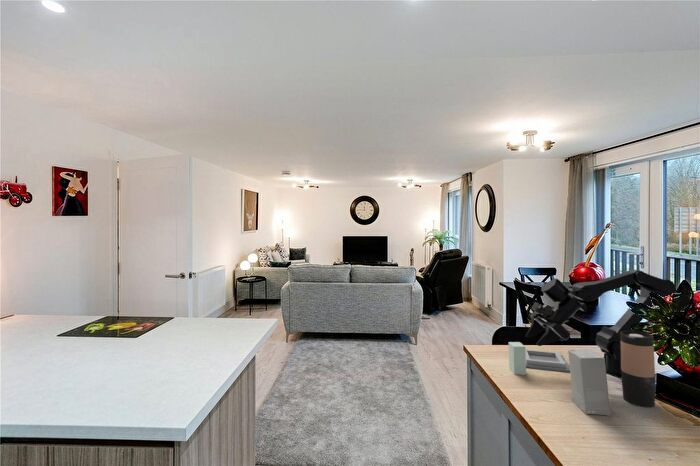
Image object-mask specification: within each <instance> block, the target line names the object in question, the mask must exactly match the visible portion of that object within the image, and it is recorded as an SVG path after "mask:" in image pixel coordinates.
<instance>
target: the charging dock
mask: <svg viewBox="0 0 700 466" xmlns="http://www.w3.org/2000/svg"><path fill="white" fill-rule="evenodd" d="M525 355H526V369H528V368H529V369H538V370H547V371H555V372H563V373H564V372H565V373H570V365H569V363H568V362H567V360H566V358H565V356H563V354H560V353H559V351H549V350H539V349H537V350H536V349H527V348H525Z"/></svg>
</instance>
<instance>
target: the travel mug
mask: <svg viewBox="0 0 700 466" xmlns="http://www.w3.org/2000/svg"><path fill="white" fill-rule="evenodd" d="M620 334H621V374H622V377H621V387H622V396H623V400H624V401H626V402H627V403H629V404H632V405H634V406H638V407H643V408H652V407H654V406H655V403H656V401H655V400H656V367H655V364H656V363H655V342H654V335H652V334H650V333H647V332H644V331H643V332H642V331H637V330H633V331H621V333H620Z"/></svg>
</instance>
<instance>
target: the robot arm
mask: <svg viewBox="0 0 700 466" xmlns="http://www.w3.org/2000/svg"><path fill="white" fill-rule="evenodd" d="M633 284H636V285H638V286H640V288H639V289H640V290H639V296H638V297H637V299H636V300H635V301H634V302H638V303H643V304H645V305H648V306H650V307H652V306H653V305H652V302H651V298H650V295H649V293H651V292H654V293H656V294H658V295H660V296H662V297H665V296H668V295H671V294H672V293H674V292H675V290H676V291H677V288H676V284H675V283H674V282H673V281H672V280H671V279H665V278H660V277H657V276H655V275H651V274H649V273H647V272H644V271H643V270H637V269H629V270H627V271H625V272H621V273H618V274H615V275H611V276H608V277H605V278H602V279H599V280H596V281H583V282H575V283H573V285H571V286H566V285H564V284H563V282H562V281H561V280H560V279H558V278H557V277H556V278H553V279H552V280H549V281H548V282H545V283H544V284H543V285H542V286H541V289H540V290H541V292H542V293H544V295H545V296H547V297H548V298H549V299H550V301H551V300H552V302H554V303H556V305H554V306H553V305H549V304H547V303H545V304H543V305H542V304H541V303H538V302H536V301H534V302H533V305H532V306H531V311H532V313H531V314H530V320H531V324H530V326H529V329H528V331H527V333H526V334H525V337H526V338H528V339H529V338H531V337H534V336H536V335H537V334H539V333H542V332H544V331H545V332H544V334H543V335H542V336H541V337H540V338H539V340H538V341H537V342H536V345H537V346H538V347H540V346H541V347H542V346H544V345H548V344H552V343H555V342H560V341H561V342H562V341H568V340H569V338H570V337H571V333H570V331H568V330H567V328H565V326H563V325H564V324H565V323H566V322H567V323H569V322H570V323H571V321H572V319H571V318H572V317H573V316H574V315H575V314H576V312H577V311H579V310H580V311H582V312H587V310H588V309H587V304H586V303H584V302H587V303H588V302H592V301H595V300H596V299H599V298H600V297H601V296H602V295H603V294H605V293H608V292H610V291H614V290H617V289H621V288H624V287H626V286H630V285H633ZM675 293H676V292H675ZM675 293H674V294H675ZM570 295H571V296H570ZM572 296H573V297H572ZM579 300H581V301H579ZM582 301H584V302H582ZM557 302H558V303H557ZM643 320H644V318H642V317H640V316H638V315H636V314H634V313H633V312H632V311H631V309H630V307H628V309H627V310H625V312H624V313H623V314H622V315H621V317H620V318H619V319H618V320H617V322H615V324H614V325H613V326H610V327H607V326H602V328H601V329H600V330H599V331H598V332H597V333H595V334H596V337H595V339H594V340H595V343H596V346H597V347H598V348H599V349H600V351H601V353H603V356H602V357H603V358H605V366H606V374H608V375H611V376H614V377H617V378H621V379H622V374H621V334H620V333H621V331H634V330H631V325H633V324H637V323H639V324H641V322H642V321H643Z"/></svg>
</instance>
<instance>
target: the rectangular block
mask: <svg viewBox="0 0 700 466" xmlns="http://www.w3.org/2000/svg"><path fill="white" fill-rule="evenodd" d="M525 349H526V346H525V345H524V344H523V343H522V342H520V341H508V365H509V366H508V367H509V370H510V371H511V372H512V373H513V375H527V367H526V355H525Z"/></svg>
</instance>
